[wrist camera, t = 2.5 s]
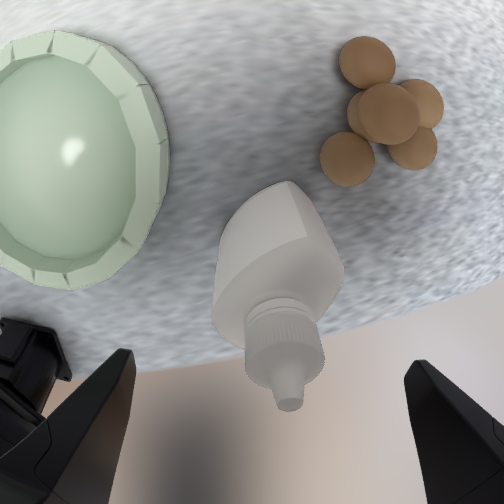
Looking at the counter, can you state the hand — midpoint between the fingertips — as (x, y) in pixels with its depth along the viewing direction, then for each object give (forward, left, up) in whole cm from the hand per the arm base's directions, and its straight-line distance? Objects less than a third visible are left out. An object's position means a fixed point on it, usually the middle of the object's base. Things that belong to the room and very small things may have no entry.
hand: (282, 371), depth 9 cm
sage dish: (+3, +13, -11) cm, 17 cm away
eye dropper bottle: (0, 0, -11) cm, 11 cm away
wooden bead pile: (+7, -5, -11) cm, 14 cm away
